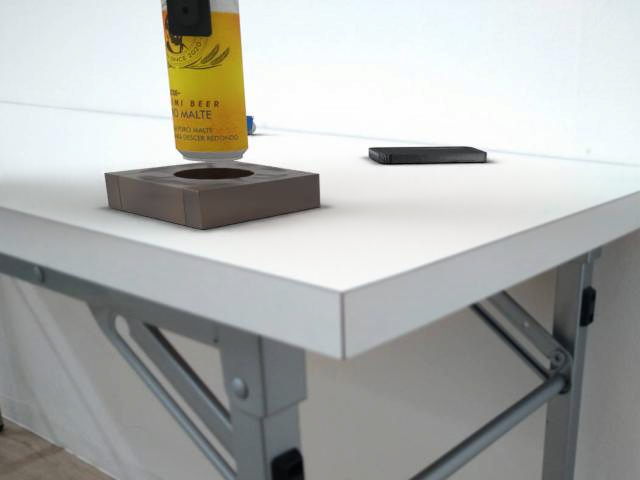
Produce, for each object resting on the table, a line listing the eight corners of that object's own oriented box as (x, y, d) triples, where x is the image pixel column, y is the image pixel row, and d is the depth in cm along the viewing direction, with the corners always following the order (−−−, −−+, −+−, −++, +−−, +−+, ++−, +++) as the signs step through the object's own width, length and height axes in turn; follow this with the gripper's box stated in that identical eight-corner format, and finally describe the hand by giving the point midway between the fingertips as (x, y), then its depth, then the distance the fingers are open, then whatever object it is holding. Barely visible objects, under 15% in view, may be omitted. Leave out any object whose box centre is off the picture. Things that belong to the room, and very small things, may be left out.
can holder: (108, 207, 65) (103, 172, 64) (228, 189, 75) (226, 159, 74) (202, 229, 58) (198, 191, 57) (320, 206, 68) (319, 173, 67)
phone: (366, 147, 101) (469, 145, 106) (366, 155, 101) (469, 153, 106) (380, 154, 94) (489, 152, 99) (380, 163, 94) (489, 161, 99)
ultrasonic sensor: (255, 140, 124) (257, 120, 124) (250, 135, 121) (252, 115, 122) (221, 138, 124) (223, 119, 125) (215, 133, 122) (217, 113, 122)
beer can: (161, 158, 63) (139, -36, 58) (210, 151, 69) (195, -28, 63) (216, 164, 61) (199, -38, 56) (263, 157, 66) (252, -29, 61)
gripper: (163, -191, 63) (184, 37, 69) (80, -276, 47) (118, 33, 53) (253, -187, 63) (266, 40, 70) (202, -269, 47) (224, 36, 54)
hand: (202, 34), depth 61 cm, fingers closed on beer can, 6 cm apart
